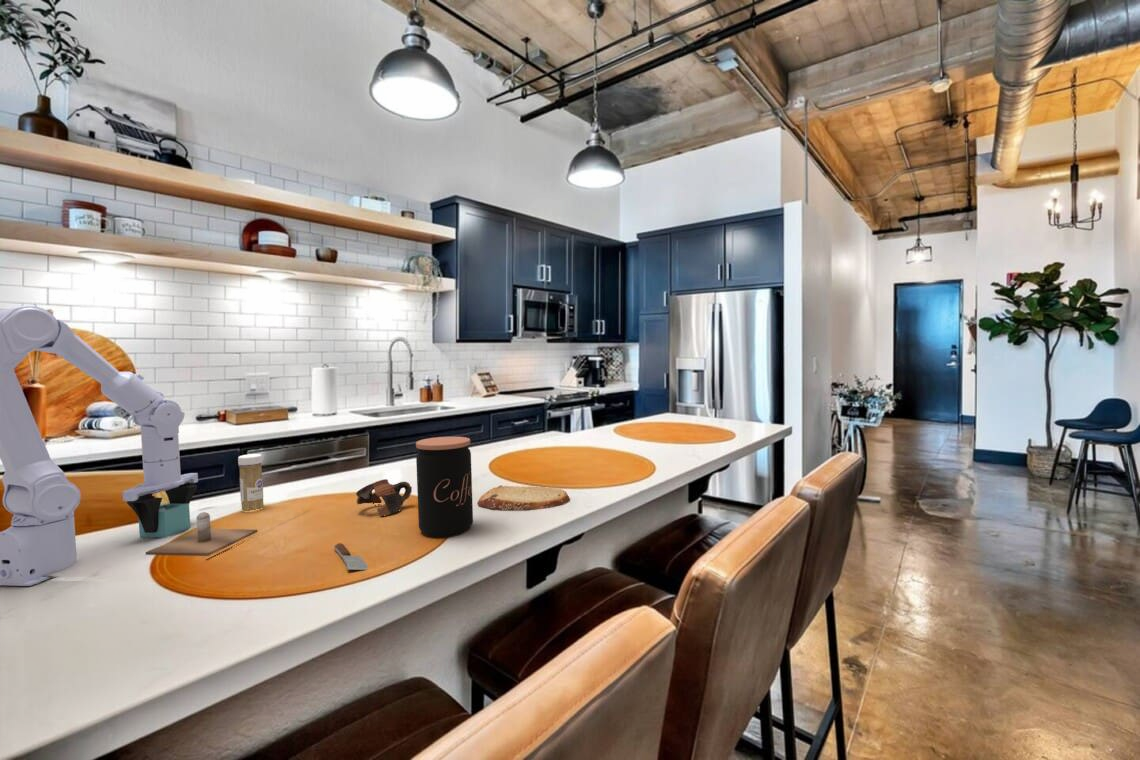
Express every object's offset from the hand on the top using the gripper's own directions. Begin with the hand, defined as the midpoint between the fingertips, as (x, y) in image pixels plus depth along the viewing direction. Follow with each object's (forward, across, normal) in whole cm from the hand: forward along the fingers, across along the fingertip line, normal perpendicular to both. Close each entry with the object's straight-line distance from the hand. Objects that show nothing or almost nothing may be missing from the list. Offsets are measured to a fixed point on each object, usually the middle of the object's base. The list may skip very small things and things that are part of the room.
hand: (165, 526), depth 100 cm
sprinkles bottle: (+2, +15, -7) cm, 17 cm away
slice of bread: (+3, +25, -68) cm, 73 cm away
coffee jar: (+2, +6, -56) cm, 56 cm away
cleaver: (+2, -9, -45) cm, 46 cm away
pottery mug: (+2, +18, -37) cm, 41 cm away
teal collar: (+1, 0, 0) cm, 1 cm away
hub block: (+2, -5, -13) cm, 14 cm away
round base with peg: (+2, 0, 0) cm, 2 cm away
